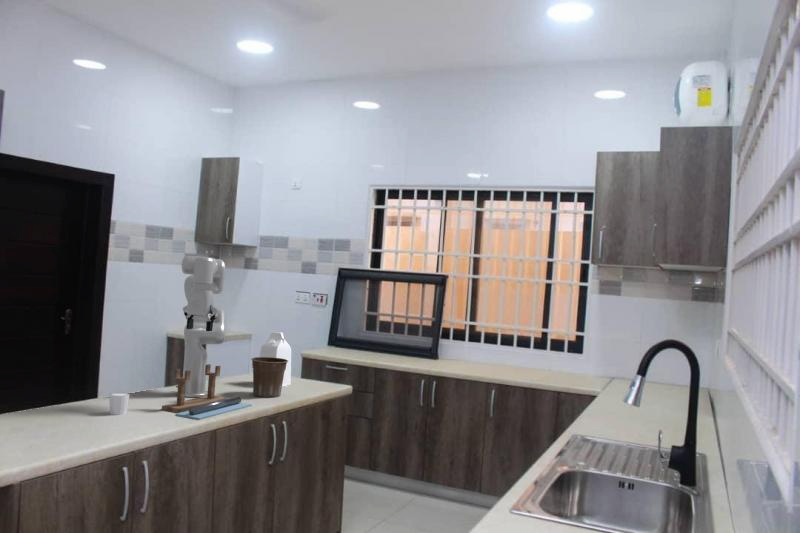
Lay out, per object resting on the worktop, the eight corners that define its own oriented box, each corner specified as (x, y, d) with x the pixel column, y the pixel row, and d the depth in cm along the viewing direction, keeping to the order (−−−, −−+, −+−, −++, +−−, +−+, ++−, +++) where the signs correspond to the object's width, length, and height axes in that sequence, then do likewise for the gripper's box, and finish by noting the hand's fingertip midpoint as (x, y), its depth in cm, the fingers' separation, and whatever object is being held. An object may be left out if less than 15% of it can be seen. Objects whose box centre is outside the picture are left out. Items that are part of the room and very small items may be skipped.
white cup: (106, 415, 228) (107, 395, 228) (109, 411, 235) (111, 392, 235) (126, 415, 230) (128, 396, 230) (129, 411, 237) (130, 392, 237)
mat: (175, 415, 235) (175, 413, 235) (229, 402, 264) (229, 400, 264) (199, 419, 231) (199, 418, 231) (251, 405, 260) (251, 404, 260)
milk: (290, 385, 312) (294, 333, 313) (274, 388, 302) (278, 334, 303) (272, 382, 318) (276, 330, 319) (256, 384, 309) (260, 331, 309)
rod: (194, 416, 234) (195, 408, 234) (188, 413, 235) (189, 406, 235) (240, 404, 260) (241, 397, 260) (234, 402, 261) (236, 395, 261)
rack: (161, 409, 243) (164, 370, 243) (209, 398, 268) (212, 362, 269) (180, 413, 239) (183, 372, 239) (226, 401, 265) (229, 365, 265)
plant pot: (289, 393, 292) (292, 358, 292) (279, 400, 276) (282, 363, 276) (255, 390, 293) (258, 355, 294) (243, 396, 277) (246, 360, 278)
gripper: (179, 286, 255) (175, 328, 255) (213, 289, 248) (210, 332, 248) (191, 286, 262) (188, 327, 261) (225, 289, 255) (222, 331, 255)
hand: (199, 330), depth 255 cm, fingers open, 9 cm apart
